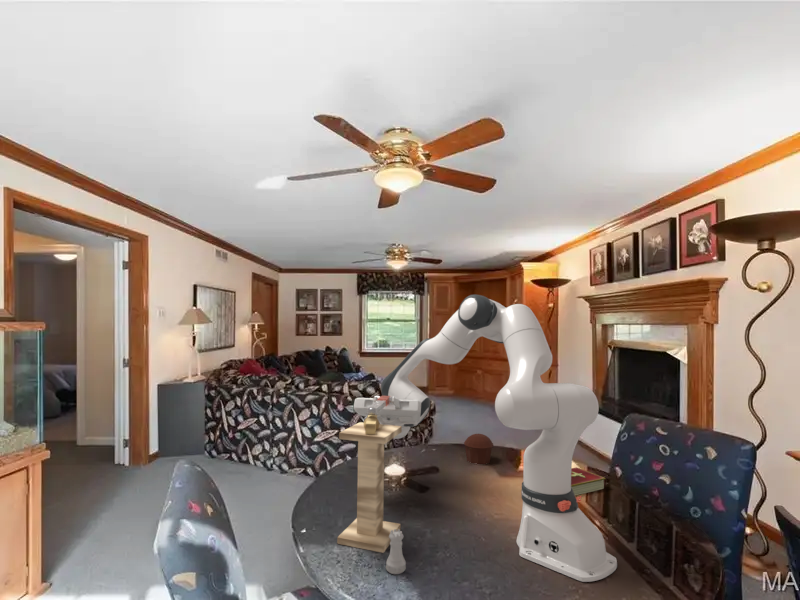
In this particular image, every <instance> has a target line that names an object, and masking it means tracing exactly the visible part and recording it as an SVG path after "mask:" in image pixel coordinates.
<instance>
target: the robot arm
mask: <svg viewBox="0 0 800 600" xmlns="http://www.w3.org/2000/svg"><path fill="white" fill-rule="evenodd" d="M481 337H483V338H486V339H488V340H489V341H493V342H495V343H498V344H502V345H504V349H505V352H506V356H507V361H508V364H509V378H508V380H507V382H506V384H505V385H504V386H503V387H502V388H501V389H500V390H499V391H498V393H497V394H496V397H495V401H494V410H495V414H496V416H497V418H498V420H499V422H500V423H501V424H503V426H504V427H506V428H510V429H516V430H522V431H530V430H531V431H533V430H535V431H536V430H542V431H541V434H540V435H539V436H538V438H537V439H536V440H535V441H534V442H532V443H531V444H529V445H528V446H527V447H526V448H525V451H524V452H523V457H522V458H523V461H522V462H523V470H522V471H523V474H522V477H523V478H522V479H523V480H522V482H521V497H520V498H521V500H522V508H521V509H522V511H521V518H520V519H521V520H520V525H519V529H518V530H519V531H518V532H517V533H518V534H517V537H516V544H517V546H518V548H519V553H518V554H519V556H520V557H521V558H523V559H525V560H528V561H530V562H533V563H536V564H537V565H541V566H543V567H545V568H547V569H550V570H552V571H555V572H557V573H560V574H561V575H565V576H566V577H569V578H572V579H573V580H577V581H578V582H583V583H587V582H589V583H591V582H595V581H596V582H597V581H599V580H602V579H605V578H607V577H608V576H610V575H611V574H613V573H614V572H615V571H616V569H617V568H618V562H617V561H618V560H617V558H616V557H615V556H613V555H612V554H610V553H609V552H607V549H606V548H607V547H606V543H605V539H604V536H603V533H602V532H601V531H600V530H599V529H598V528H597V526H595V525H594V523H593V522H592V521H591V520H590V519H589V518H588V517H587V515H585V513H584V512H583V511H582V510H581V509H580V508H579V504H578V503H579V502H581V501H582V500H583V499H581V498H582V497H583V496H582V495H578V496H577V497H576V495H574V492H573V489H572V488H571V468H572V467H573V465H572V463H573V455H574V453H575V448H576V446H577V444H578V442H579V439H580V437H582V435H583V433H584V432H585V431H586V429H587V428H589V426H591V425H592V424H593V423H594V422H595V421H596V419H597V417H598V414H599V406H600V405H599V401H598V398H597V396H596V394H595V393H594V391H593V390H592V389H591V388H590V387H588V386H586V385H582V384H576V383H573V382H556V383H555V382H551V383H549V382H548V383H546V382H543V380H542V378H541V376H542V375H543V374H545V373H546V372H547V371H548V370H549V369H550V367H551V366H552V364H553V354H552V351H551V349H550V345H549V344H548V341H547V338H546V335H545V333H544V330H543V328H542V326H541V324H540V322H539V319H538V318H537V317H536V315H535V313H534V312H533V311H532V309H531V308H530V307H529V306H527V305H525V304H523V303H516V304H511V305H509V306H507V307H505V306H504V305H502V304H501V303H500V302H498V301H495V300H493V299H490V298H488V297H486V296H485V295H481V294H470V295H468V296H466V297H465V298H464V299H463V300H462V301H461V303H460V305H459V307H458V309H457V310H456V311H455V312H454V313H453V314H452V315H451V316H450V318H449V319H447V321H446V323H445V324H444V325H443V327H442V328H441V330H440V331H439V332H438V333H437V334H436V335H435V336H434V337H432V338H424V339H423V340H422V341H420V342H419V343H418V344H417V345H416V346H415V347H414V348H413V349H412V350H411V351H410V352H409V353H408V354H407V356H406V357H405V358H404V359H402V361H401V362H400V363H399V364H398V365H397V366H396V367H395V368H394V369H393V370H392V371H391V372H389V374H388V375H387V376H385V378H384V379H383V380H382V381H381V384H380V391H381V396H391V397H389V405H388V406H385V407H384V408H383V409H382V410H381V411H380V412H378V413H377V414H376V415H377V419H378V420H379V424H384V425H394V426H402V432H401V433H400V434H398V435H397V436H395V437H394V438H393V439H395V440H399V439H403V438H404V437H406V435H408V434H409V432H410V430H411V428H413V427H416V426H418V425H419V424H421V423H422V421H424V420H425V419H426V417H427V416H428V414H429V412H430V409H431V399H430V397H429V396H428V395H427V394H425V392H423V391H422V390H421V389H420V388H419V387H417V386H416V385H415V384H414V383H413V382H412V381H411V380H410V379H409V375H410V374H411V373H412V372H413V370H414V369H416V368H417V366H419V364H420V363H421V362H422V361H424V360H430V361H432V362H436V363H439V364H444V365H455V364H458V363H460V362H461V361H462V360H464V358H465V357H466V356H467V354H468V353H469V351H471V348H472V346H473V345H474V343H475V342H476V340H477V339H479V338H481ZM381 396H380V395H374V398H370V397H357V398H355V399H354V403H353V411H355V413H357V414H358V415H359V416H361V417H368V414H367V408H368V407H370V406H371V405H372V404H373V403H375V402H376V401H377V399H378V398H379V397H381Z"/></svg>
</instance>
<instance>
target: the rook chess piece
mask: <svg viewBox="0 0 800 600" xmlns="http://www.w3.org/2000/svg"><path fill="white" fill-rule="evenodd" d="M389 538H390V540H391V542H390V545H389V546H390V548H389V549H390V550H389V555H388V557H387V559H386V561H385V570H386V571H387V572H388V573H389V574H392V575H401V574H403V573H404V572H405V571H406V569H407V565H406V564H407V562H406V560H405V557H404V555H403V549H402V548H403V541H402V540H403V539H404V534H403V531H402V530H399V529H398V531H396V529H394V532H393V530H391V533H390V535H389Z"/></svg>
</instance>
